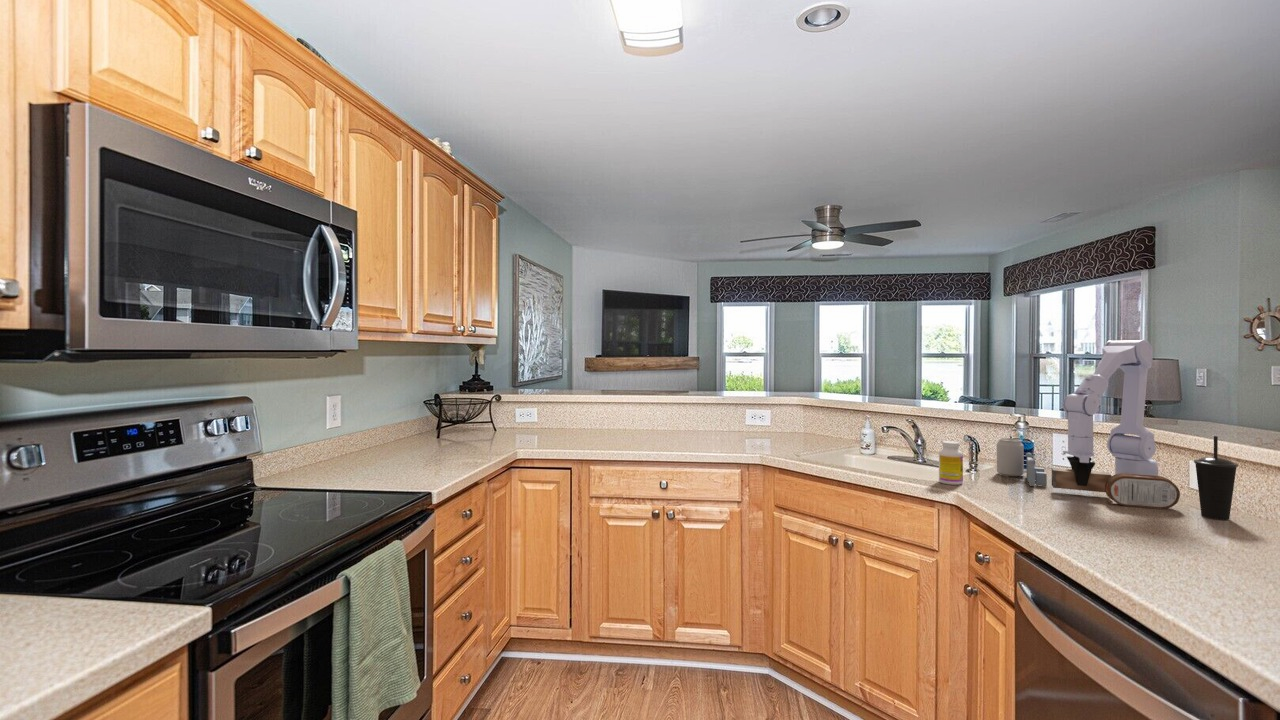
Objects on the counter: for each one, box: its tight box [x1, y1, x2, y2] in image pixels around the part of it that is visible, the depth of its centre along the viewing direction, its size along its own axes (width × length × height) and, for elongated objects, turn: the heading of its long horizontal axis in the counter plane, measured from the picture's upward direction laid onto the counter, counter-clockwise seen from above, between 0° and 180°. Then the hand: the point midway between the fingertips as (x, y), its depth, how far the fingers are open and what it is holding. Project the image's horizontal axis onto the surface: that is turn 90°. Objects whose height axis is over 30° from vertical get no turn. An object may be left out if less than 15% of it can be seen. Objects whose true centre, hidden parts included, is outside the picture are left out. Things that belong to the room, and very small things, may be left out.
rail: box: [1051, 467, 1112, 493], centre depth 161 cm, size 13×4×5 cm, turn 59°
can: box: [996, 437, 1025, 477], centre depth 187 cm, size 8×8×12 cm
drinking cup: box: [1193, 435, 1239, 521], centre depth 139 cm, size 8×8×20 cm
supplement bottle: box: [938, 440, 964, 486], centre depth 177 cm, size 7×7×13 cm
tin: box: [1104, 473, 1181, 510], centre depth 149 cm, size 15×3×8 cm, turn 65°
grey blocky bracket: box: [1025, 452, 1048, 488], centre depth 176 cm, size 5×14×8 cm, turn 149°
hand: (1080, 483), depth 161 cm, fingers closed on rail, 4 cm apart
